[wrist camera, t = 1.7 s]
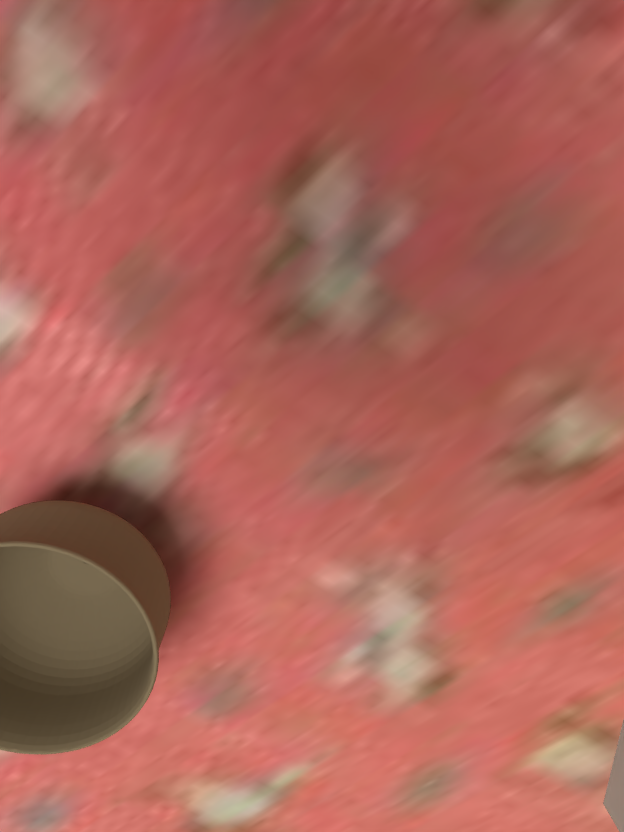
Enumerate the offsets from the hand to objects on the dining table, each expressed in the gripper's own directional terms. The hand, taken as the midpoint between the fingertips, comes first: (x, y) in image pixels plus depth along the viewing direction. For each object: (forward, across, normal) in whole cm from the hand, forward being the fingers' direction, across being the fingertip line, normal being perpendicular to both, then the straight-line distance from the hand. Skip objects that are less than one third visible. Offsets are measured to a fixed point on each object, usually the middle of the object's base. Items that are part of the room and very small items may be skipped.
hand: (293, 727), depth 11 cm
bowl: (+26, -12, -11) cm, 30 cm away
